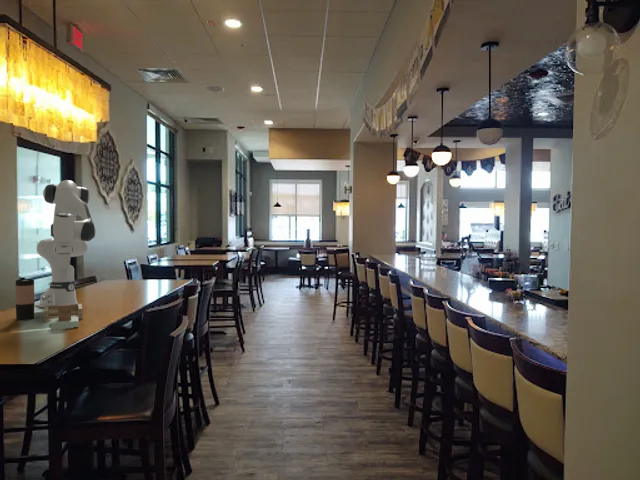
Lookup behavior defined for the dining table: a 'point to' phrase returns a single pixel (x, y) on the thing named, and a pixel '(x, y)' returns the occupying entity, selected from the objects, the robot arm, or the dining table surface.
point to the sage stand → (64, 323)
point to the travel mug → (25, 299)
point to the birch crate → (52, 312)
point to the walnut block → (64, 312)
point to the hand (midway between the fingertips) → (64, 278)
